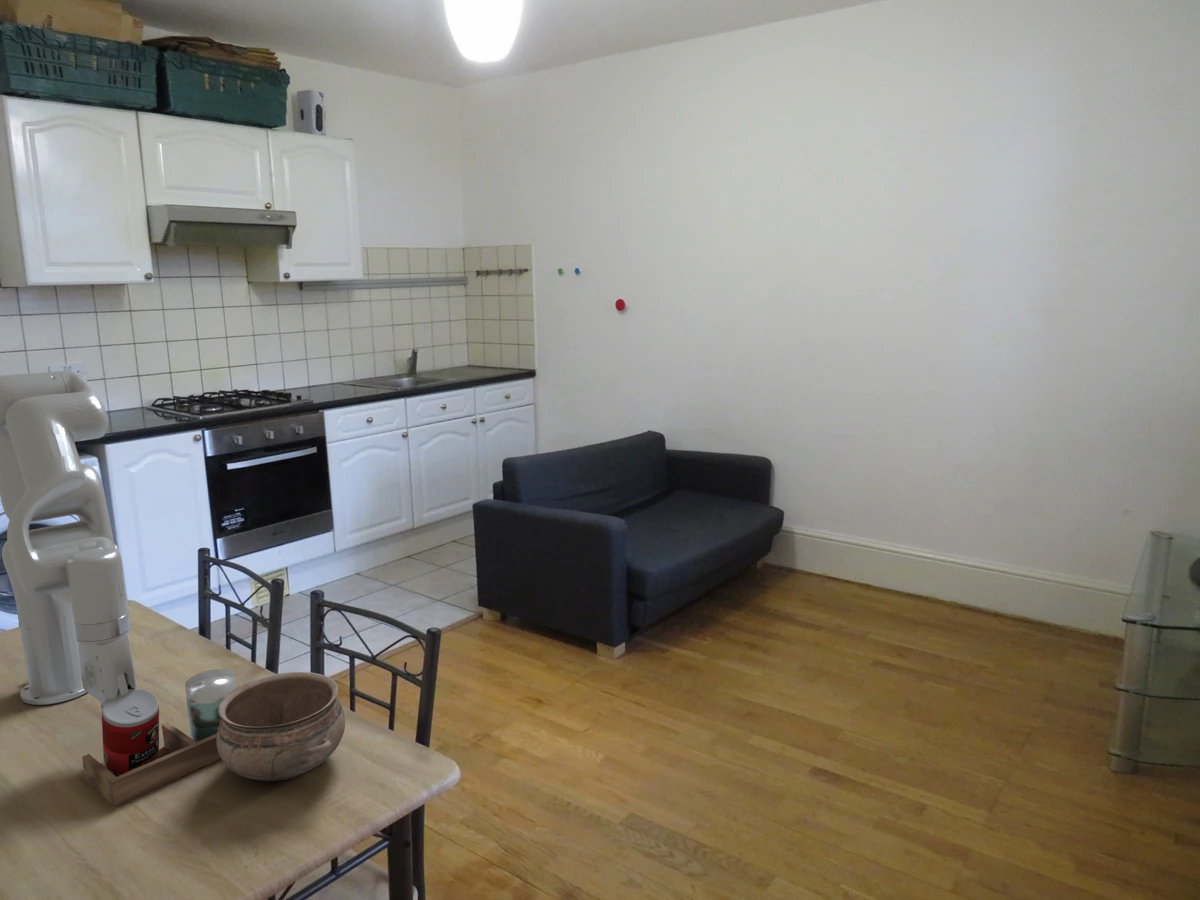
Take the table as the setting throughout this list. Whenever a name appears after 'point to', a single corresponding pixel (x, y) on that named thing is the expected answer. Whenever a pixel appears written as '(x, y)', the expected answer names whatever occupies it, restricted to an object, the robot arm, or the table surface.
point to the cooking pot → (280, 725)
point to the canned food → (130, 730)
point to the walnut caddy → (153, 767)
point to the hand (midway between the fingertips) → (118, 732)
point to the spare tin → (207, 700)
